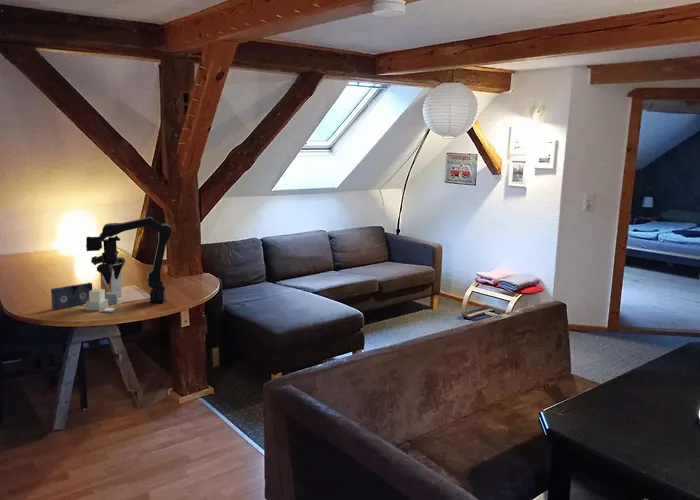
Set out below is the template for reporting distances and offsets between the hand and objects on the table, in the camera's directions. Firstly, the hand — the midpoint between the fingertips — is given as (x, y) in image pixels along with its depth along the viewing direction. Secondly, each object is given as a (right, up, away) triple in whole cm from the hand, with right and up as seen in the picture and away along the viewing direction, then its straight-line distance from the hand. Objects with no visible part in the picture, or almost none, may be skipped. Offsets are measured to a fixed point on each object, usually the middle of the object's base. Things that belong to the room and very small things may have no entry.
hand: (112, 281), depth 266 cm
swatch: (+2, -13, -8) cm, 16 cm away
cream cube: (-5, -9, -5) cm, 11 cm away
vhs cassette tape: (-17, -12, -3) cm, 21 cm away
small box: (-7, -9, +15) cm, 19 cm away
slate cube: (-2, -11, +5) cm, 12 cm away
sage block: (-5, -13, -5) cm, 15 cm away
